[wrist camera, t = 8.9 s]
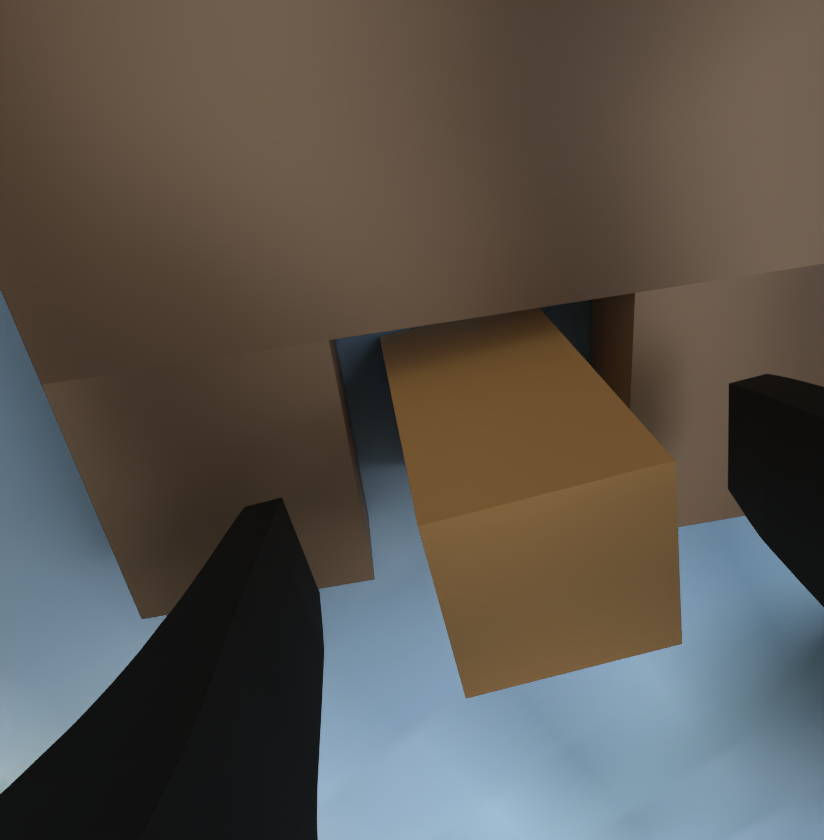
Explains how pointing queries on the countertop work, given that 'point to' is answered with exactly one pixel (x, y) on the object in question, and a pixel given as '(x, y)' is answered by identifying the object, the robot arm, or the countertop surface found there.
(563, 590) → the block
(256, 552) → the robot arm
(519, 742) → the countertop surface
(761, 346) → the notched board
